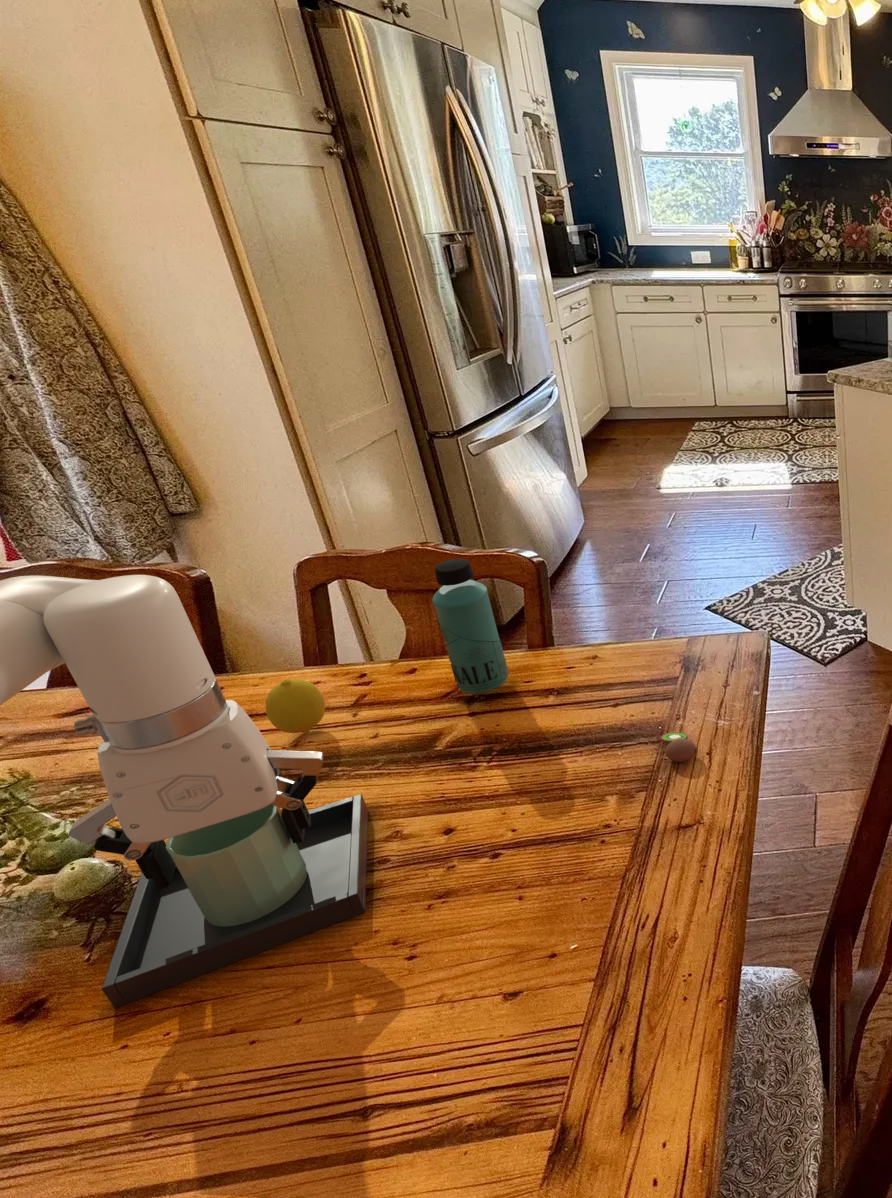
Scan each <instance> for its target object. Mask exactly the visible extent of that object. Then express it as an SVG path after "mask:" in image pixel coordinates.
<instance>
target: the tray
mask: <svg viewBox="0 0 892 1198" xmlns="http://www.w3.org/2000/svg"><path fill="white" fill-rule="evenodd" d="M308 812H309V814H310V817H311V826H310V827H308V828H305V834H304V841H303V842H301V843H298V844H297V847H298V849H299V851H300V853H301V855H302V858H303V860H304V862H305V864H306V869H307V876H306V879H305V882H304V884H303V885H302V887H301V888H300V889H299V891H298V892H297V893H296V894H295V895H294V896H293V897H292V898H291V899H289V900H288V901H287V902H286V903H284V904H283V905H282V906H280V907H279V908H277V909H276V910H274V911H272V912H270V913H269V914H267V915H265V916H263V917H260V918H258V919H256V920H253V921H250V922H247V923H244V924H240V925H235V926H227V927H221V926H215V925H212V924H210V923H208V922H207V921H206V919H205V917H204V916H203V914H202V913H201V911H200V909H199V908H198V906H197V904H196V902H195V900H194V899H193V897H192V895H191V893H190V891H189V890H188V888H187V886H186V884H185V882H184V881H183V879H182V877H181V875H180V873H179V872H178V870H177V868H175V871H174V875H173V878H172V882H171V884H170V885H168V887H165V888H162V889H159V888H158V887H157V885H156V883H155V881H154V880H153V878H151V879H146V878H145V876H144V874H143V873H142V872H141V873H140V876H139V878H138V881H137V884H136V887H135V890H134V893H133V896H132V898H131V901H130V905H129V908H128V910H127V913H126V917H125V920H124V922H123V925H122V928H121V931H120V934H119V937H118V940H117V941H116V942H117V943H116V945H115V949H114V952H113V955H112V958H111V959H110V960H111V961H110V963H109V966H108V969H107V971H106V975H105V977H104V979H103V984H102V986H101V990H102V992H103V993H104V995H105V996H106V998H107V999H108V1001H109V1002H110V1004H111V1006H112V1007H113V1009H117V1008H120V1007H122V1006H124V1005H127V1004H131V1003H133V1002H135V1001H137V1000H140V999H142V998H146V997H148V996H151V995H153V994H157V993H159V992H161V991H164V990H166V989H169V988H171V987H174V986H176V985H179V984H182V983H184V982H187V981H190V980H192V979H194V978H198V977H200V976H202V975H205V974H207V973H211V972H214V971H215V970H219V969H221V968H223V967H226V966H229V965H232V964H234V963H236V962H239V961H242V960H244V959H247V958H249V957H252V956H255V955H257V954H260V953H263V952H265V951H268V950H270V949H273V948H275V947H278V946H280V945H283V944H286V943H288V942H292V941H293V940H296V939H299V938H302V937H304V936H307V935H309V934H311V933H314V932H317V931H320V930H322V929H325V928H327V927H330V926H333V925H335V924H337V923H340V922H343V921H346V920H348V919H352V918H353V917H357V916H359V915H362V914H364V913H366V907H367V906H366V905H367V904H366V903H367V874H368V873H367V871H368V869H367V867H368V841H369V840H368V837H369V835H368V833H369V809H368V806H367V804H366V801H365V798H364V796H363V794H362V793H359V794H357V795H353V796H349V797H347V798H343V799H340V800H337V801H334V802H331V803H327V804H324V805H321V806H318V807H315V808H312V809H308Z"/></svg>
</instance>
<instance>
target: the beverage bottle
mask: <svg viewBox="0 0 892 1198" xmlns="http://www.w3.org/2000/svg"><path fill="white" fill-rule="evenodd" d="M434 574H435V581H436V583H437V584H438V585H440V586H441V587H440V588H439V589H438V590H437V591H436V592H435V593H434V595H433V597H432V599H431V600H432V601H431V602H432V605H434V610H435V612H436V617H435V618H436V620H437V622H438V623H437V624H438V629H439V630H440V633H441V634H440V636H441V638H442V639H443V642H444V647H445V652H446V655H447V657H448V660H449V662H450V667H451V672H452V675H453V677H454V682H455V686H456V687H457V688H458V689H459V690H460V691H461V692H463V693H464V694H471V695H475V694H483V693H487V692H489V691H492V690H495V689H497V688H499V687H501V686H502V685H503V684H504V683H506V681H507V680H508V678H509V674H510V672H509V667H508V662H507V660H506V656H505V653H504V648H503V645H502V641H501V638H500V636H499V632H498V628H497V624H496V620H495V617H494V612H493V608H492V604H491V601H490V597H489V593H488V592H489V591H488V588H487V586H486V585H485V584H483V583H481V582H479V581H476V580H474V579H472V578H473V577H474V576H475V573H474V570H473V569H472V566H471V563H470V561H469V560H468V559H465V558H451V559H447V560H444V561H442V562H440V563H438V564H437V565H436V566H435V567H434Z"/></svg>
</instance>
